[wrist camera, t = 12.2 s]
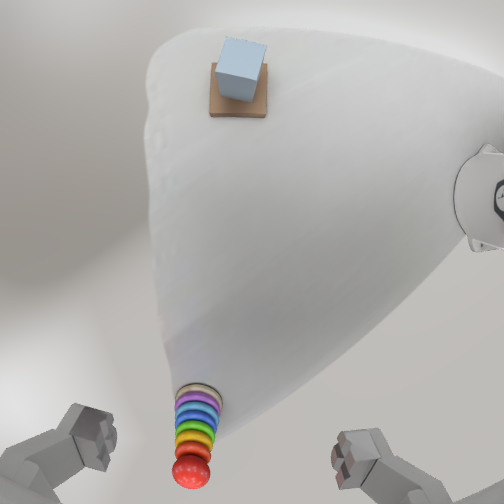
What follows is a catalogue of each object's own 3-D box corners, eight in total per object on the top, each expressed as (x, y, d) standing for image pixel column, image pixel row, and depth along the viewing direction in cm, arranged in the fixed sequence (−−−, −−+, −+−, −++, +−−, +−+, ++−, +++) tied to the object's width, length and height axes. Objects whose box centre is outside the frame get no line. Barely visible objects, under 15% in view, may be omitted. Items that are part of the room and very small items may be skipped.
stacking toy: (196, 421, 50) (184, 503, 32) (167, 393, 48) (142, 476, 30) (231, 404, 49) (229, 492, 31) (202, 374, 48) (188, 463, 29)
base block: (265, 70, 37) (267, 63, 35) (264, 118, 39) (266, 114, 36) (213, 70, 37) (211, 62, 34) (211, 117, 39) (209, 113, 36)
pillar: (259, 75, 35) (266, 45, 25) (251, 103, 36) (256, 80, 26) (228, 68, 35) (226, 36, 25) (220, 96, 35) (215, 71, 26)
